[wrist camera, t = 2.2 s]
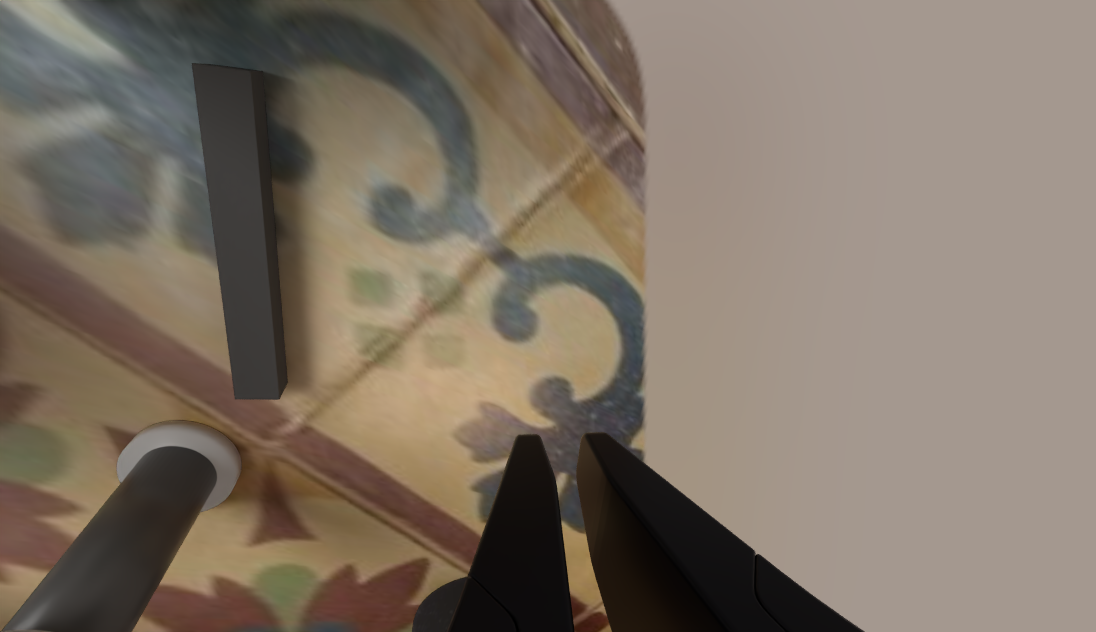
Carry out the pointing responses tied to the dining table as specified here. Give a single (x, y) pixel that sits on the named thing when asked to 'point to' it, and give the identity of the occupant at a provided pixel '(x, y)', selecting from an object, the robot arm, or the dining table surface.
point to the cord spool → (134, 531)
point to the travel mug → (438, 608)
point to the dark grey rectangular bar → (243, 224)
